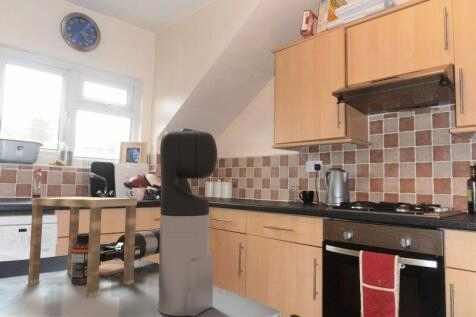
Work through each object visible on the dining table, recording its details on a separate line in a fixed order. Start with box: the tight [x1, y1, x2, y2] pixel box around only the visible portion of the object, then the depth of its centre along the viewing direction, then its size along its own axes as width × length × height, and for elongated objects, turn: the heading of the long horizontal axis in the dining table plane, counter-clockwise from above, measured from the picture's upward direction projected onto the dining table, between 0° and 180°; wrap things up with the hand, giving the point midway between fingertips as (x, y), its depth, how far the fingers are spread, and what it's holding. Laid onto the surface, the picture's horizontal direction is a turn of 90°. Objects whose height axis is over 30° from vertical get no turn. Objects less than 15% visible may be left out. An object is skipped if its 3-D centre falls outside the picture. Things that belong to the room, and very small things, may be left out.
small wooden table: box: [27, 196, 138, 298], centre depth 79 cm, size 22×12×20 cm, turn 63°
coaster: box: [99, 263, 124, 277], centre depth 90 cm, size 8×8×1 cm
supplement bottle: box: [70, 232, 89, 286], centre depth 79 cm, size 6×6×11 cm
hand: (88, 255), depth 80 cm, fingers open, 8 cm apart
